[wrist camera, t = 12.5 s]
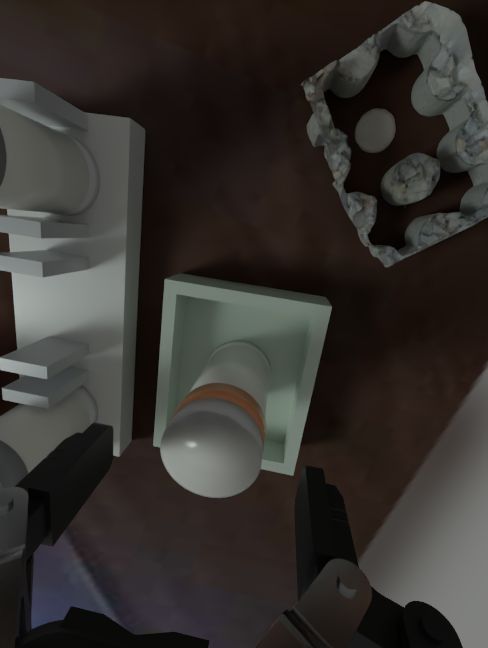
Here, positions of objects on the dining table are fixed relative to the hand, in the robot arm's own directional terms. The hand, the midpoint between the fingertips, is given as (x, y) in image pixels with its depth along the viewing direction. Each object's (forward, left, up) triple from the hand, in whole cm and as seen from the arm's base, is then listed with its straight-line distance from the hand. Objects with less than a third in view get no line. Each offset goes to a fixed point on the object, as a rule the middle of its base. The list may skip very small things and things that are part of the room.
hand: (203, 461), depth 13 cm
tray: (0, 0, -11) cm, 11 cm away
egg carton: (-14, +7, -11) cm, 20 cm away
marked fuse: (0, 0, -10) cm, 10 cm away
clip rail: (-3, -12, -11) cm, 16 cm away
